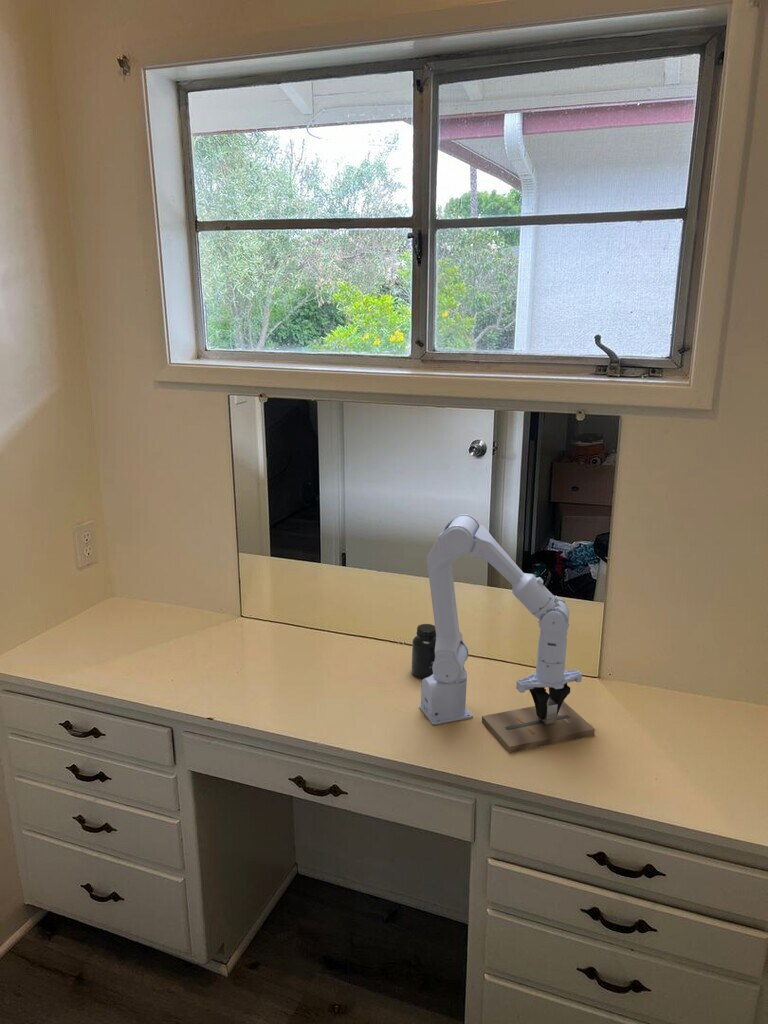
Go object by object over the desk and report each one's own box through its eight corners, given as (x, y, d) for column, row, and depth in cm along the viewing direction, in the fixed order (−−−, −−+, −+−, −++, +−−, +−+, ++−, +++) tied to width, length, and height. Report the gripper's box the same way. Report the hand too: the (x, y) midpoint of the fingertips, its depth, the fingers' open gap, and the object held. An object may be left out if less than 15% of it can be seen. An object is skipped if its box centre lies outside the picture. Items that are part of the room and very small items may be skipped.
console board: (509, 753, 148) (509, 746, 147) (481, 722, 159) (482, 715, 158) (594, 735, 154) (594, 728, 154) (562, 706, 165) (563, 700, 165)
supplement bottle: (437, 681, 176) (439, 635, 172) (409, 678, 177) (410, 632, 174) (441, 668, 182) (442, 623, 179) (413, 665, 183) (414, 620, 180)
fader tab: (546, 724, 155) (547, 706, 154) (537, 716, 158) (538, 697, 157) (556, 722, 155) (557, 704, 154) (546, 714, 159) (548, 695, 158)
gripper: (530, 671, 147) (526, 732, 151) (592, 661, 152) (586, 719, 155) (512, 656, 153) (509, 714, 157) (573, 646, 158) (568, 703, 162)
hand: (546, 716), depth 157 cm, fingers closed on fader tab, 2 cm apart
